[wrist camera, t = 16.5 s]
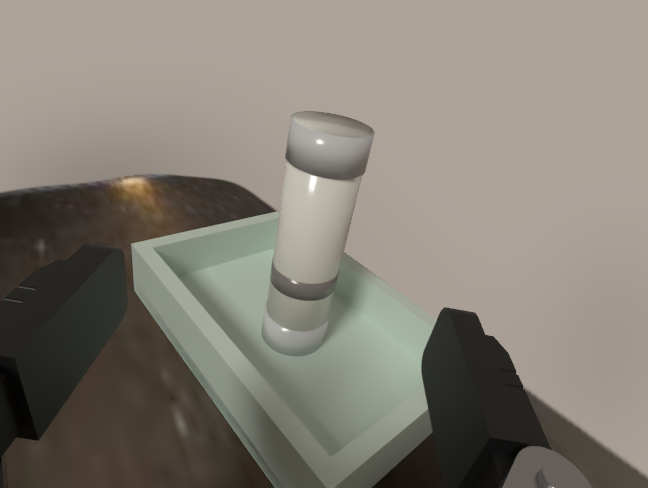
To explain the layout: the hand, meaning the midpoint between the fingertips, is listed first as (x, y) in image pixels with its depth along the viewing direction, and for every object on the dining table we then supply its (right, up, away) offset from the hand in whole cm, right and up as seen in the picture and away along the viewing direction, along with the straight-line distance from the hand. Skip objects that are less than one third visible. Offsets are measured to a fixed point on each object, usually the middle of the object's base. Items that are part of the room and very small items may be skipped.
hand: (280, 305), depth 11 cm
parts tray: (-1, -5, +18) cm, 18 cm away
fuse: (-1, -4, +17) cm, 18 cm away
